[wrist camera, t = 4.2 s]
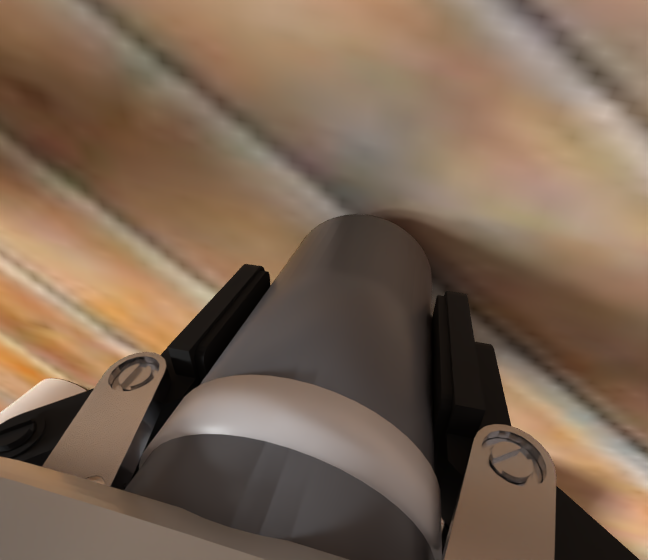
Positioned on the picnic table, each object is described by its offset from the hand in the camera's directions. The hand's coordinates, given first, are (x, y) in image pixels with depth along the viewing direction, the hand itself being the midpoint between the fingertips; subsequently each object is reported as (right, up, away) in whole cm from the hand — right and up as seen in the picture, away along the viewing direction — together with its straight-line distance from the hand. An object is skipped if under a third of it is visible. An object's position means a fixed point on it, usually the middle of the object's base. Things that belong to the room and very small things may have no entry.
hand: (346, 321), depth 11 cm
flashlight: (+1, +1, +2) cm, 3 cm away
